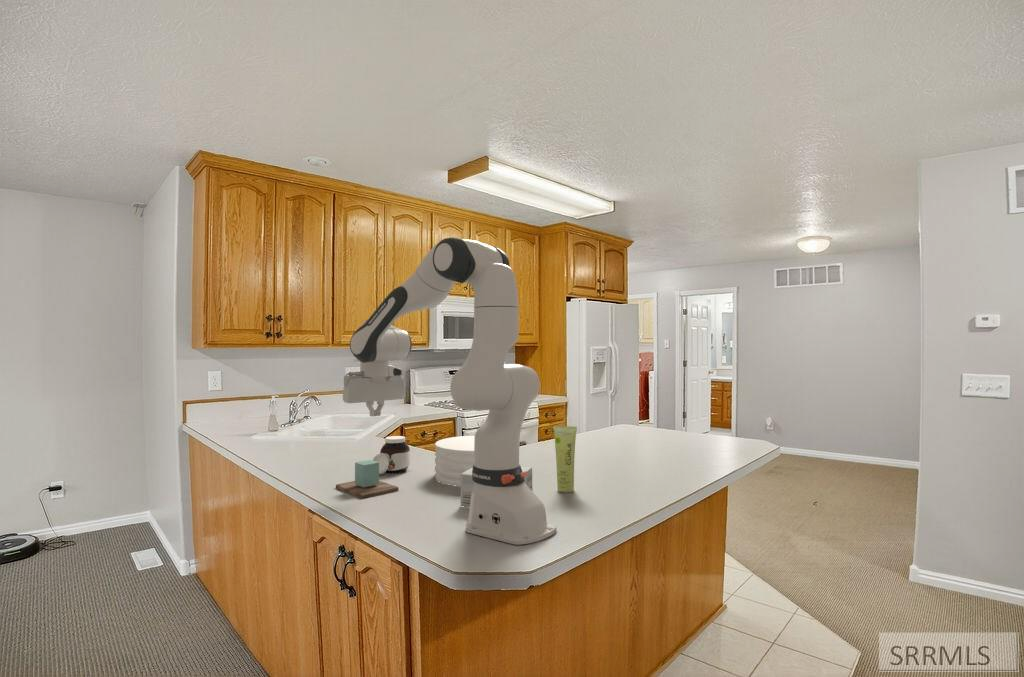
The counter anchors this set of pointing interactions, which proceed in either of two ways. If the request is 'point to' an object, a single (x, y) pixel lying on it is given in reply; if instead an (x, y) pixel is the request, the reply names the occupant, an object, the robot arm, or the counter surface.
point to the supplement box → (469, 483)
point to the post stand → (366, 489)
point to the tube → (565, 456)
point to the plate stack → (453, 458)
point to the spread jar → (393, 455)
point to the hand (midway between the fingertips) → (375, 415)
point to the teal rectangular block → (366, 473)
